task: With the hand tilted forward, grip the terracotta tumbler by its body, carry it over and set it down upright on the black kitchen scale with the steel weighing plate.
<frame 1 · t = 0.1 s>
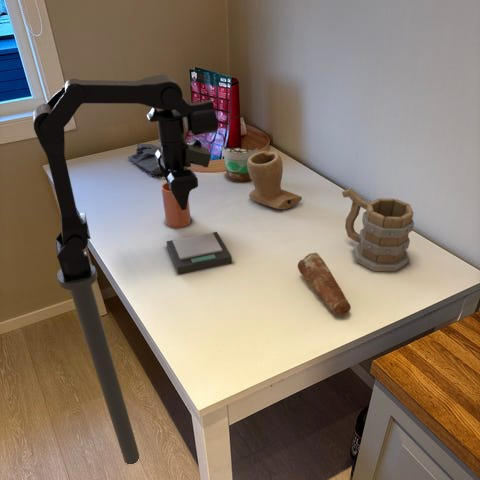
hand: (179, 201, 120), 14 cm above the table, tool pointing down, fingers open, 9 cm apart
kitchen scale: (198, 255, 126), on the table
tankard: (368, 252, 126), on the table
food container: (238, 180, 160), on the table
dark slate chunk: (157, 165, 171), on the table
brown tapered rod: (326, 293, 113), on the table
clay pipe bowl: (270, 203, 147), on the table
tumbler: (178, 221, 140), on the table
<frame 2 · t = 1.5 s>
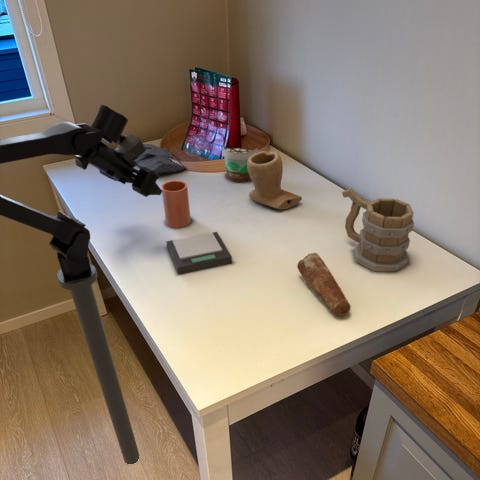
hand: (150, 187, 127), 13 cm above the table, tool tilted 45°, fingers open, 9 cm apart
nothing on the table moved.
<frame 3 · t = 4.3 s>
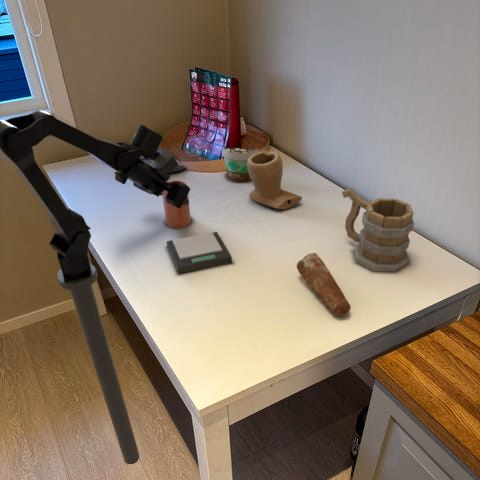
hand: (179, 198, 136), 7 cm above the table, tool tilted 45°, fingers closed on tumbler, 7 cm apart
tumbler: (178, 221, 140), on the table, touching gripper
everything else where it was.
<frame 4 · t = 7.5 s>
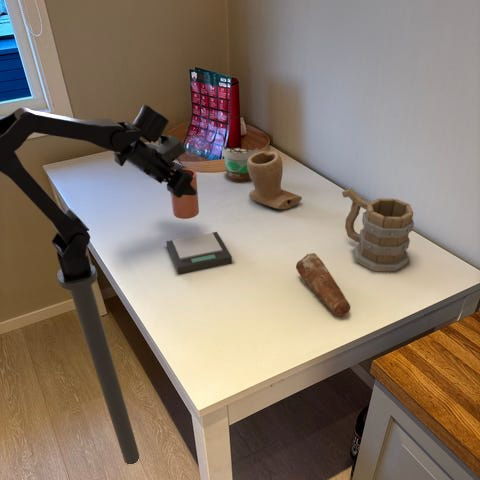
hand: (188, 188, 128), 12 cm above the table, tool tilted 45°, fingers closed on tumbler, 7 cm apart
tumbler: (186, 212, 132), point 6 cm above the table, touching gripper
everything else where it was.
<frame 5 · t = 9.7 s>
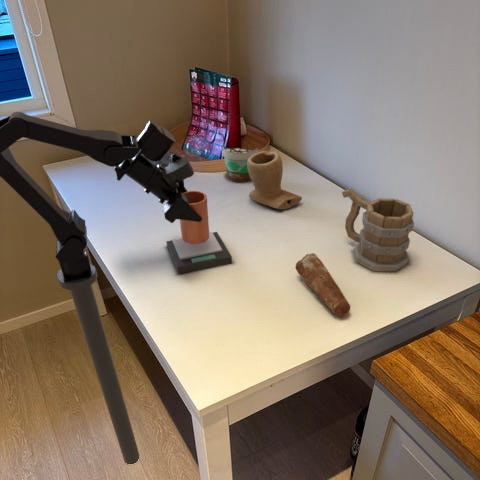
hand: (199, 213, 120), 12 cm above the table, tool tilted 45°, fingers closed on tumbler, 7 cm apart
tumbler: (195, 236, 124), point 5 cm above the table, touching gripper
everything else where it was.
when the fingers open (9 cm above the table, at t = 11.1 s): tumbler stays where it is, resting on kitchen scale.
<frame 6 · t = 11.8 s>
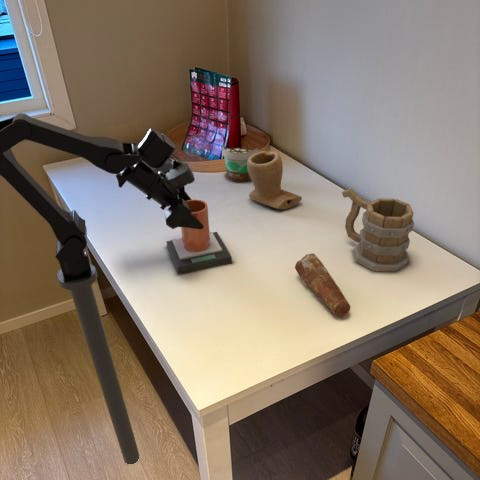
hand: (200, 218, 121), 10 cm above the table, tool tilted 45°, fingers open, 9 cm apart
tumbler: (196, 244, 125), point 3 cm above the table, touching kitchen scale
everything else where it was.
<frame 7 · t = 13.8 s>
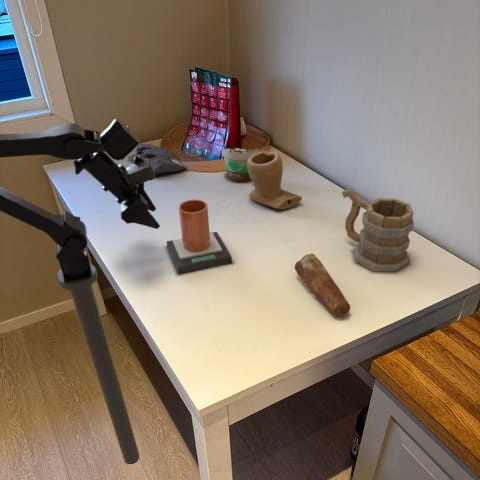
hand: (156, 218, 118), 12 cm above the table, tool tilted 35°, fingers open, 9 cm apart
nothing on the table moved.
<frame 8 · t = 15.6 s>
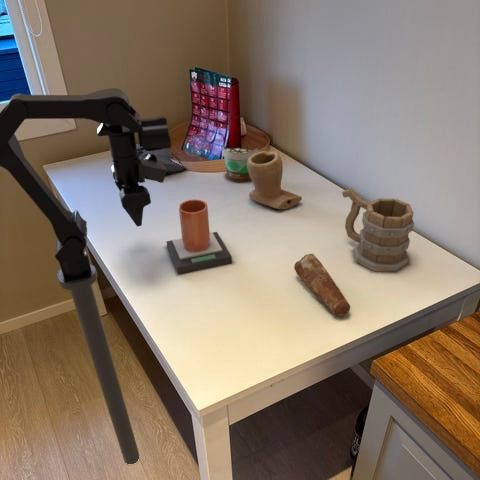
hand: (136, 216, 116), 13 cm above the table, tool pointing down, fingers open, 9 cm apart
nothing on the table moved.
at the end: tumbler inside the target area on the kitchen scale (0.0 cm from its centre), point 2.6 cm above the kitchen scale's base; tumbler tilted 0°; the gripper is holding nothing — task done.
